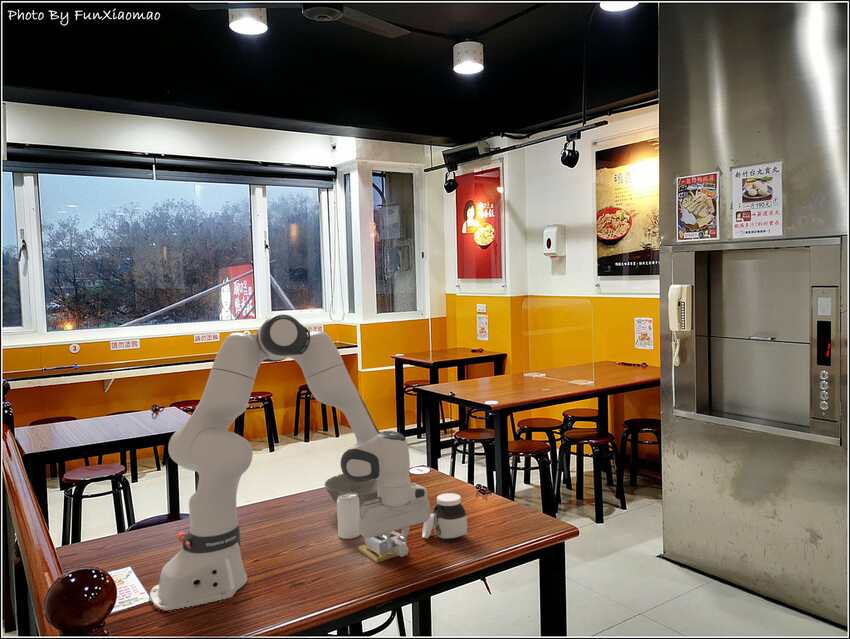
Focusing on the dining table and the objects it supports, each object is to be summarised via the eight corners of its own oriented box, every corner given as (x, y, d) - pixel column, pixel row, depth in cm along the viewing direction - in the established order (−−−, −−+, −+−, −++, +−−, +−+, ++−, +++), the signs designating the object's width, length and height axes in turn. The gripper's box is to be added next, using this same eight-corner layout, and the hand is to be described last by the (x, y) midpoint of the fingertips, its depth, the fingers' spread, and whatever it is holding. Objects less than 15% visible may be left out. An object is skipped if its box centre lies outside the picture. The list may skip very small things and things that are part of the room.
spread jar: (471, 539, 177) (470, 499, 177) (437, 549, 172) (435, 507, 171) (448, 526, 188) (447, 488, 187) (415, 535, 182) (413, 496, 181)
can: (356, 540, 180) (354, 499, 180) (335, 539, 182) (333, 498, 181) (363, 531, 187) (361, 491, 186) (342, 530, 188) (340, 491, 187)
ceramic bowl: (342, 530, 188) (340, 497, 187) (316, 508, 208) (314, 478, 207) (408, 514, 199) (406, 483, 198) (377, 495, 219) (375, 466, 218)
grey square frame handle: (417, 551, 165) (416, 540, 165) (391, 560, 161) (390, 548, 161) (390, 540, 177) (389, 529, 177) (365, 547, 172) (364, 536, 172)
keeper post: (376, 562, 165) (375, 540, 165) (358, 550, 173) (357, 528, 173) (408, 552, 171) (407, 530, 170) (389, 540, 179) (388, 519, 179)
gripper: (365, 505, 157) (368, 560, 158) (432, 488, 168) (434, 538, 169) (353, 499, 162) (356, 551, 163) (419, 482, 174) (421, 531, 174)
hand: (396, 545), depth 166 cm, fingers open, 2 cm apart
